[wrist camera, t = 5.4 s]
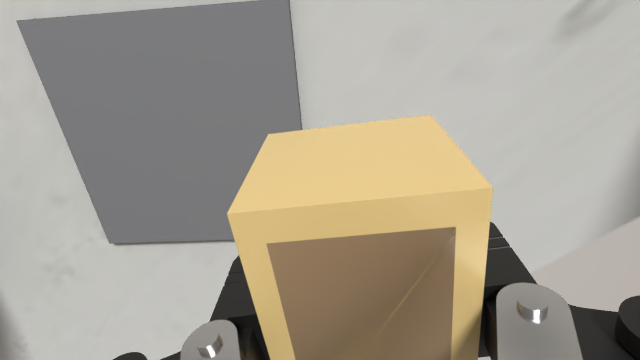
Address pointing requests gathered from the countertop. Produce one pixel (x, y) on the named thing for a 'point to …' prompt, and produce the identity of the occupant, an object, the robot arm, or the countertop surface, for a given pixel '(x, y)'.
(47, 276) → the countertop surface
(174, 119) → the mat
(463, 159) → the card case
